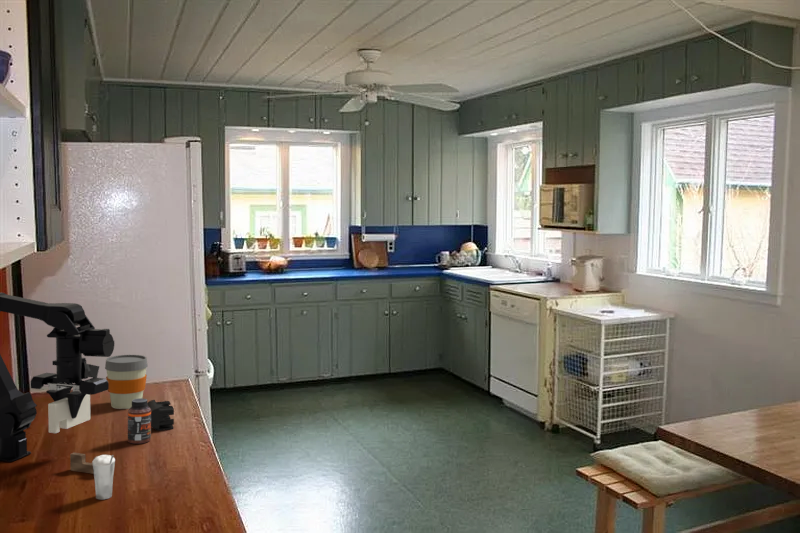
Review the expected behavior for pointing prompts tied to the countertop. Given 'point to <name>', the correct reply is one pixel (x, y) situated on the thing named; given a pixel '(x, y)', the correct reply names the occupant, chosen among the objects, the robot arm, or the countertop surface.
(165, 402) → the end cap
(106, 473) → the milkshake
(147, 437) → the supplement bottle
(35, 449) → the countertop surface
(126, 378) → the reusable coffee cup
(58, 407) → the cream plate
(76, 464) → the brown wooden flat piece
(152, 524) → the countertop surface
